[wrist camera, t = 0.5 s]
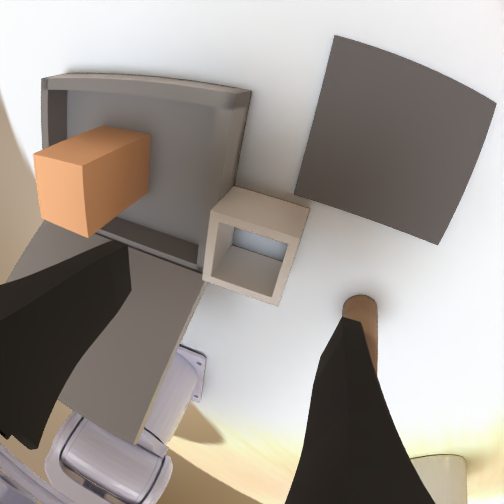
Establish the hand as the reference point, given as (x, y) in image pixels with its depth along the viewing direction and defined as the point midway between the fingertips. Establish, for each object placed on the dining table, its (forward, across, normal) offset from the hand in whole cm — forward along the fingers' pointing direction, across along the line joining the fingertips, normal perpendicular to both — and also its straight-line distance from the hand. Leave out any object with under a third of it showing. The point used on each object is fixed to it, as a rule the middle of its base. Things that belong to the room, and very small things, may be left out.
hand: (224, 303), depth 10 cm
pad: (+10, -5, -5) cm, 12 cm away
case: (+10, +8, +3) cm, 13 cm away
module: (+9, +10, 0) cm, 14 cm away
